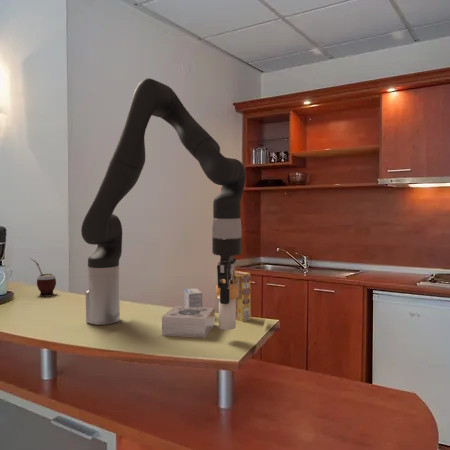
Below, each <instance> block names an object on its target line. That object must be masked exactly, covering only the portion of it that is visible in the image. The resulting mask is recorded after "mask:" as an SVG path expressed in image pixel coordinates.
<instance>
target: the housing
mask: <svg viewBox="0 0 450 450" xmlns="http://www.w3.org/2000/svg"><path fill="white" fill-rule="evenodd" d="M215 320H216V319H215V307H204V306H203V307H184V306H178V305H175V306H173V307H172V308H171V309H169V310H168V311H167V312H166V313H165V314H163V315H162V316H161V336H170V337H185V338H186V337H187V338H206V337H207V336H208V335H209V334H210V332H211V331H212V330H213V328H214V327H215V326H216V325H215V324H216V323H215Z"/></svg>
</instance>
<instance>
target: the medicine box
mask: <svg viewBox="0 0 450 450" xmlns="http://www.w3.org/2000/svg"><path fill="white" fill-rule="evenodd" d="M183 293H184V294H183V301H184V302H183V305H184V307H204V305H203V292H201V291H200V290H199V289H198V288H186V289H184V290H183Z"/></svg>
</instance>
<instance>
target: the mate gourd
mask: <svg viewBox="0 0 450 450" xmlns="http://www.w3.org/2000/svg"><path fill="white" fill-rule="evenodd" d="M29 260H31V261H33V262H34V263H35V265H36V266H37V268H38V270H39V273H40V274H39V275H38V277H37V278H36V285H37V289H38V290H39V292H40V293H39V296H40V297H45V295H46V296H49V295H53V296H54V290H55V288H56V285H57V280H56V276H55V275H54V274H53V273H43V272H42V269H41V268H40V264H39V263H38V261H36V260H35V259H33V258H31V257H30V258H29ZM40 294H41V295H40Z"/></svg>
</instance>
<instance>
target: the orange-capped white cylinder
mask: <svg viewBox="0 0 450 450" xmlns="http://www.w3.org/2000/svg"><path fill="white" fill-rule="evenodd" d="M215 298H217V299H218V328H219V329H220V330H224V331H225V330H226V331H227V330H230V331H231V330H234V329H236V328H237V327H236V325H237V320H236V298H238V285H237V284H233V283H230V288H229V304H221V303H220V289H219V288H218V283H217V284H216V285H215Z"/></svg>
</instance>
